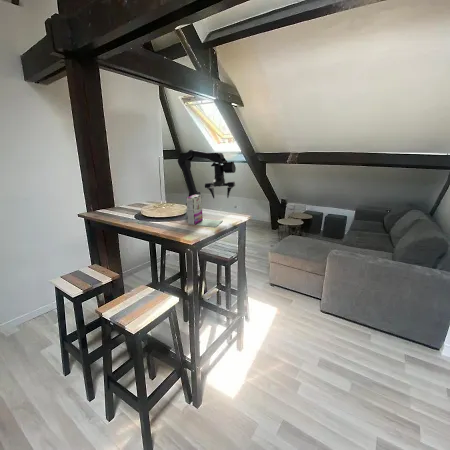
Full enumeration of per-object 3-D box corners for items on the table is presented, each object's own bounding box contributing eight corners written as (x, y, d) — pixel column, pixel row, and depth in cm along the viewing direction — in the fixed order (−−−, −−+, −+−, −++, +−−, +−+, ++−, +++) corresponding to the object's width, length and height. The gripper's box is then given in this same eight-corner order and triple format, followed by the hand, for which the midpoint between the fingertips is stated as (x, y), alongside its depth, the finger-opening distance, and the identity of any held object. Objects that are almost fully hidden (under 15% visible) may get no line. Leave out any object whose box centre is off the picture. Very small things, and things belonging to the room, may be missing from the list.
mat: (196, 225, 142) (196, 224, 142) (204, 219, 154) (204, 219, 154) (216, 227, 138) (216, 226, 138) (222, 221, 150) (222, 220, 150)
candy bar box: (195, 219, 154) (194, 194, 149) (202, 220, 152) (202, 194, 148) (187, 224, 144) (185, 197, 139) (194, 225, 142) (193, 197, 138)
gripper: (201, 175, 145) (203, 200, 149) (231, 173, 141) (233, 200, 145) (206, 173, 156) (208, 197, 160) (234, 172, 152) (235, 197, 156)
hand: (220, 198), depth 155 cm, fingers open, 9 cm apart
